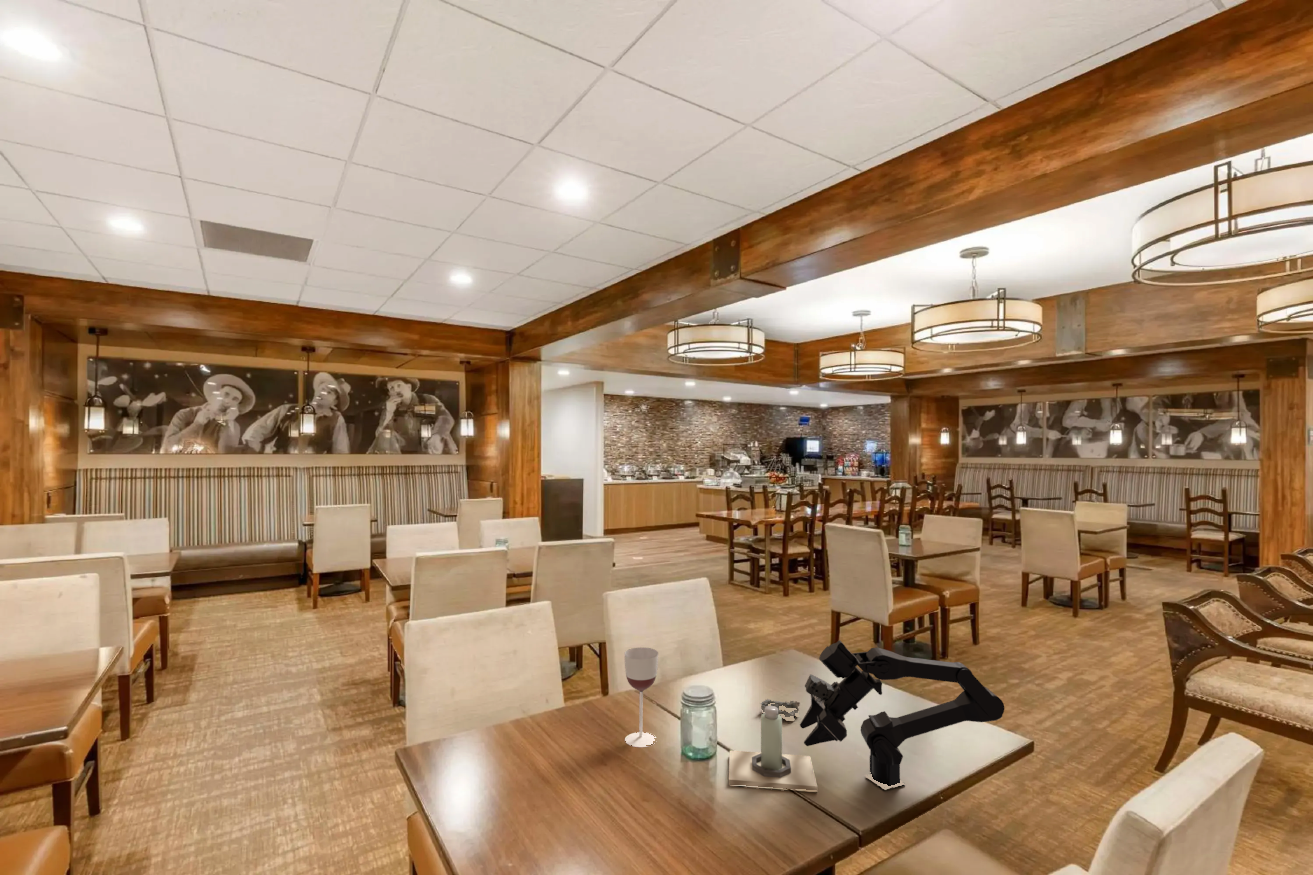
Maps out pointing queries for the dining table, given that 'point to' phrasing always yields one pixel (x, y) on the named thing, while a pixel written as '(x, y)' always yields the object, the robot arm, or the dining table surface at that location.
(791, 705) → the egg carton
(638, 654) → the wineglass
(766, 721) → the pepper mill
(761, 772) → the board
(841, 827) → the dining table surface
